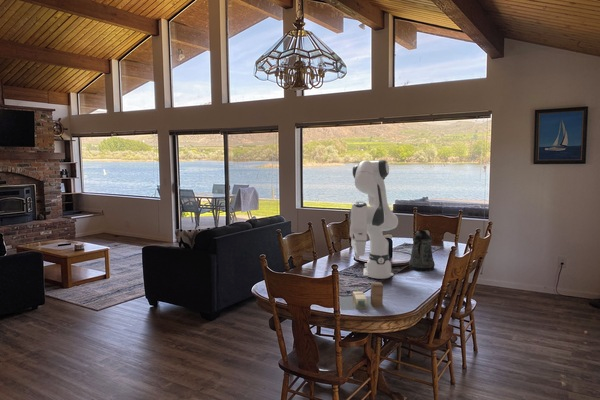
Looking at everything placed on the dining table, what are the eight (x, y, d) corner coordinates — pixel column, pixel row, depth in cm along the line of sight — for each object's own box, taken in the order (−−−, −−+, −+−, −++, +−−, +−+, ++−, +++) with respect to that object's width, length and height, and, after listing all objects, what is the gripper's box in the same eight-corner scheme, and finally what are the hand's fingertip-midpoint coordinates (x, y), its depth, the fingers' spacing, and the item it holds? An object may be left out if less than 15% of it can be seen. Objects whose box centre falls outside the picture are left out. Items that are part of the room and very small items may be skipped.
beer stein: (432, 265, 295) (434, 229, 292) (436, 273, 276) (438, 234, 273) (407, 264, 298) (409, 228, 295) (409, 272, 279) (411, 233, 276)
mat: (336, 297, 231) (336, 296, 231) (377, 297, 232) (377, 296, 232) (341, 310, 212) (341, 309, 212) (386, 310, 213) (386, 309, 213)
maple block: (352, 291, 224) (356, 298, 213) (362, 291, 224) (366, 298, 213) (352, 300, 225) (356, 308, 214) (362, 300, 225) (366, 308, 214)
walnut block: (370, 303, 221) (371, 282, 220) (380, 303, 222) (380, 282, 220) (372, 306, 216) (373, 285, 215) (382, 306, 217) (383, 285, 215)
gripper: (349, 228, 236) (347, 253, 239) (355, 238, 216) (354, 264, 218) (360, 228, 237) (359, 253, 239) (368, 238, 216) (366, 265, 219)
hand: (356, 259), depth 228 cm, fingers closed
